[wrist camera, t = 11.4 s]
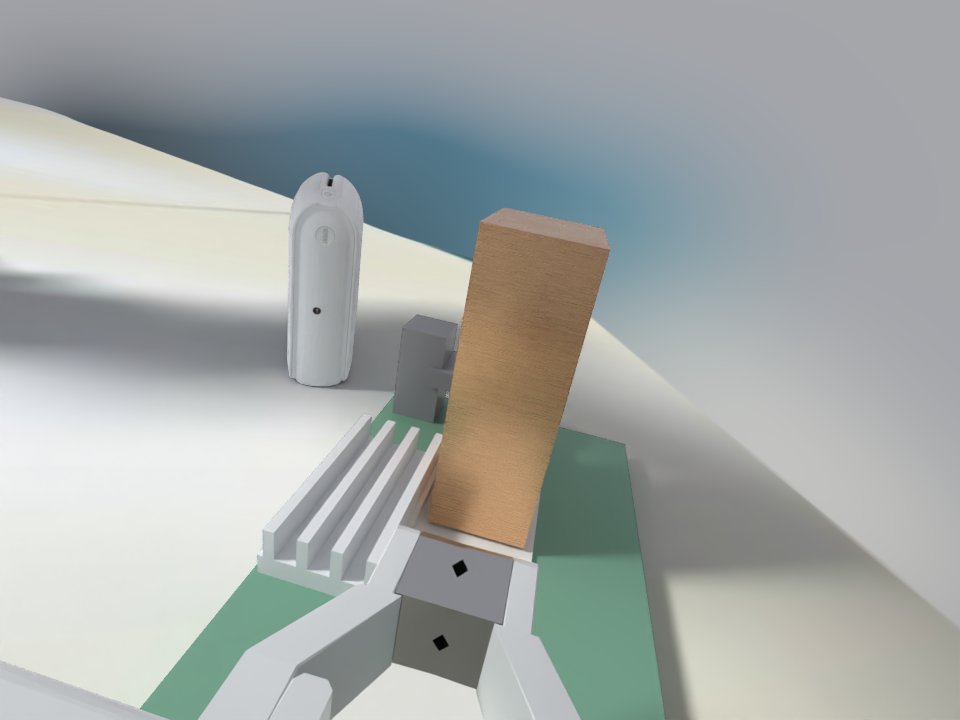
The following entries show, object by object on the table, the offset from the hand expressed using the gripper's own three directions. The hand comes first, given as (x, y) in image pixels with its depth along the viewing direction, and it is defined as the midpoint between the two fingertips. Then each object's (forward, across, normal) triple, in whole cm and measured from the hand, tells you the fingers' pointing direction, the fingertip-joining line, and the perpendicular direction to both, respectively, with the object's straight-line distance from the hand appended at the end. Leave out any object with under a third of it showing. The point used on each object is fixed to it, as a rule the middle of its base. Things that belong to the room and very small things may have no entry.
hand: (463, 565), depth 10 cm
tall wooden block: (+12, 0, +6) cm, 14 cm away
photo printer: (+22, +14, +8) cm, 28 cm away
